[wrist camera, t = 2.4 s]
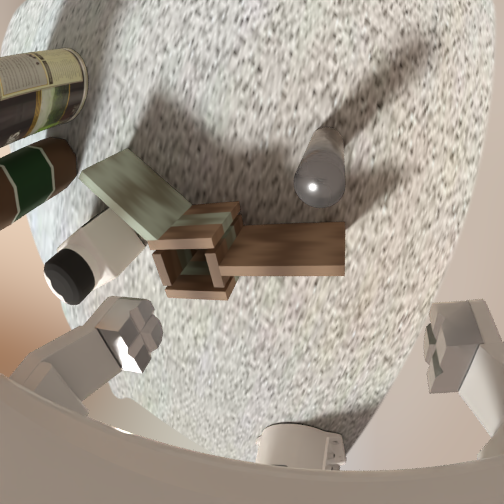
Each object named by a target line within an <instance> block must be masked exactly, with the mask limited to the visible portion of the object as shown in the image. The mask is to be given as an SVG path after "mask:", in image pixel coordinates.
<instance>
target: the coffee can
mask: <svg viewBox="0 0 504 504" xmlns="http://www.w3.org/2000/svg"><path fill="white" fill-rule="evenodd" d="M87 91H88V74H87V69H86V66H85V64H84V61H83V60H82V58H81V57H80V55H79V54H78V53H77V52H75V51H74V50H72V49H69V48H61V49H55V50H45V51H37V52H29V53H22V54H16V55H10V56H4V57H0V148H1V147H3V146H6V145H8V144H10V143H13V142H15V141H17V140H20V139H22V138H25V137H27V136H30V135H32V134H35V133H37V132H40V131H43V130H45V129H48V128H51V127H54V126H57V125H59V124H64V123H67V122H69V121H71V120H73V119H74V118H75V117H76V116H77V115H78V114H79V112H80V111H81V109H82V107H83V105H84V102H85V100H86V96H87Z"/></svg>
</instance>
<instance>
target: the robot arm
mask: <svg viewBox="0 0 504 504" xmlns="http://www.w3.org/2000/svg"><path fill="white" fill-rule="evenodd" d="M154 310H155V309H154V307H153V305H152V303H151V301H149V300H147V299H140V298H130V297H118V296H111V297H107V299H106V300H105V301H104V302H103V303H102V304H101V305H100V307H99V308H98V309H97V310H96V311H95V312H94V314H93V315H92V316H91V317H90V318H89V319H88V321H87V322H86V323H85V324H84V325H83V326H78V327H77V328H75V329H73V330H71V331H69V332H68V333H66V334H64V335H62V336H60V337H58V338H56V339H55V340H53V341H51V342H49V343H47V344H45V345H44V346H42V347H40V348H38V349H36V350H35V351H33V352H31V353H29V354H28V355H27V356H26V357H25V359H24V360H23V361H22V362H21V364H20V365H19V366H18V367H17V368H16V370H15V371H14V372H13V373H12V375H11V376H10V377H9V378H8V377H6V376H4V375H3V374H1V373H0V504H504V342H502V340H501V337H500V335H499V333H498V330H497V327H496V325H495V323H494V320H493V318H492V316H491V313H490V311H489V308H488V306H487V304H486V302H485V301H484V300H483V299H475V300H467V301H454V302H439V303H438V302H436V303H432V305H431V307H430V312H429V317H430V322H431V323H430V324H429V325H428V326H427V327H426V330H425V335H424V358H425V361H426V362H427V363H428V364H429V368H428V371H427V379H428V386H429V393H446V392H458V394H459V395H460V396H461V398H462V399H463V400H464V402H465V403H466V404H467V405H468V407H469V408H470V409H471V411H472V412H473V413H474V415H475V416H476V417H477V419H478V420H479V421H480V423H481V424H482V425H483V427H484V428H485V429H486V431H487V432H488V433H489V435H490V436H491V439H490V440H489V442H488V443H487V444H486V445H485V446H484V448H483V449H482V450H481V451H480V452H479V453H478V454H477V460H475V461H470V462H463V463H457V464H450V465H443V466H435V467H426V468H415V469H402V470H380V471H340V470H339V469H340V466H341V465H344V464H345V463H346V454H345V449H344V444H343V439H342V436H341V435H340V434H337V433H331V432H325V431H322V430H319V429H317V428H314V427H310V426H305V425H299V424H277V425H272V426H269V427H267V428H266V429H264V431H263V433H262V436H260V437H258V438H257V439H256V444H257V445H258V446H259V447H258V452H257V457H256V463H253V462H247V461H241V460H235V459H230V458H225V457H220V456H215V455H210V454H205V453H200V452H197V451H192V450H188V449H184V448H180V447H176V446H173V445H169V444H166V443H162V442H159V441H155V440H152V439H149V438H145V437H142V436H139V435H136V434H133V433H130V432H127V431H124V430H121V429H118V428H116V427H113V426H110V425H108V424H105V423H102V422H100V421H97V420H95V419H92V418H90V417H87V415H88V414H89V412H88V409H87V408H86V407H85V405H84V404H83V403H82V401H83V400H85V399H86V398H87V397H88V396H90V395H91V394H92V393H94V392H95V391H96V390H98V389H99V388H100V387H101V386H103V385H104V384H105V383H107V382H108V381H109V380H111V379H112V378H113V377H114V376H116V375H117V374H118V373H120V372H121V371H122V369H123V370H128V371H133V372H138V373H143V371H144V370H145V368H146V366H147V365H148V363H149V362H150V360H151V352H152V351H154V350H155V349H157V348H158V347H159V345H160V343H161V341H162V336H163V330H162V325H161V323H160V320H159V319H158V318H157V317H155V316H154V315H153V313H154Z"/></svg>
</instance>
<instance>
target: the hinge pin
mask: <svg viewBox="0 0 504 504" xmlns="http://www.w3.org/2000/svg"><path fill="white" fill-rule="evenodd" d="M294 188H295V191H296V193H297V195H298V197H299V198H300V199H301V200H302V201H303V202H304V203H306V204H307V205H310V206H312V207H316V208H325V207H329V206H332V205H334V204H335V203H336V202H338V201H339V200H340V198H341V197H342V195H343V193H344V191H345V165H344V146H343V138H342V136H341V134H340V133H339V132H338V131H337V130H336V129H334V128H331V127H322V128H319V129H317V130H316V131H315V132H314V133H313V135H312V137H311V140H310V142H309V144H308V147H307V149H306V151H305V153H304V156H303V158H302V160H301V162H300V165H299V167H298V169H297V171H296V174H295V177H294Z"/></svg>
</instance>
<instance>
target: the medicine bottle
mask: <svg viewBox="0 0 504 504" xmlns="http://www.w3.org/2000/svg"><path fill="white" fill-rule="evenodd" d="M144 249H145V245H144V244H143V243H142V241H141V240H140V238H139V237H138V236H137V234H136V233H135V231H134V230H133V228H131V227H130V226H129V225H128V224H127V223H126V222H125V221H124V220H123V219H121V218H120V217H119V216H118V215H117V214H116V213H115V212H114V211H113V210H112V209H111V208H109V207H107V208H106V209H105V210H103V211H102V212H100V213H99V214H98V215H96V216H95V217H94V218H92V219H91V220H90V221H88V222H87V223H86V224H84V225H83V226H82V227H80V228H79V229H78V230H77V231H76V232H75V233H73V234H72V235H71V236H70V237H69V238H68V239H67V240H65V241H64V242H63V243H62V244H61V245H60V246H59V247H58V248H57V252H58V253H57V254H55V255H54V256H53V257H52V258H51V259H49V260H48V261H47V262H46V263H45V266H44V276H45V279H46V282H47V284H48V286H49V287H50V289H51V290H52V292H53V293H54V294H55V295H56V296H57V297H58V298H59V299H60V300H62V301H63V302H65V303H67V304H70V305H78V304H80V303H81V302H82V301H83V300H84V298H85V297H86V296H87V295H88V294H89V293H90V292H91V291H93V290H95V289H96V288H98V287H100V286H102V285H104V284H106V283H108V282H110V281H111V280H113V279H115V278H117V277H118V276H119V275H120V274H121V273H122V272H123V271H124V270H125V268H126V267H127V266H128V265H129V264H130V263H131V262H132V261H133V260H134V259H135V258H136V257H137V256H138V255H139V254H140V253H141V252H142V251H143V250H144Z"/></svg>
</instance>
